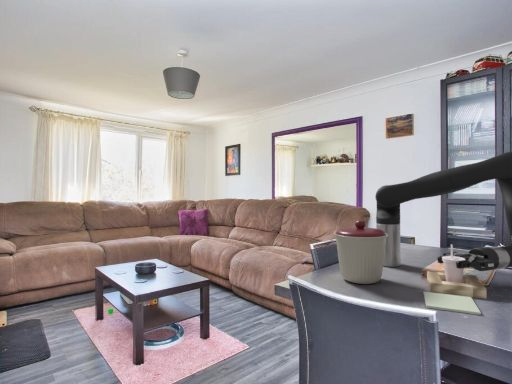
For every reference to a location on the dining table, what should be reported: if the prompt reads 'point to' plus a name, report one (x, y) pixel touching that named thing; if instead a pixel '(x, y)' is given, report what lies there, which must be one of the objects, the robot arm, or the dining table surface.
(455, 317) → the dining table surface
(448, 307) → the mat
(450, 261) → the smoothie
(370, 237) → the canister
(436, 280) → the holder
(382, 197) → the robot arm
